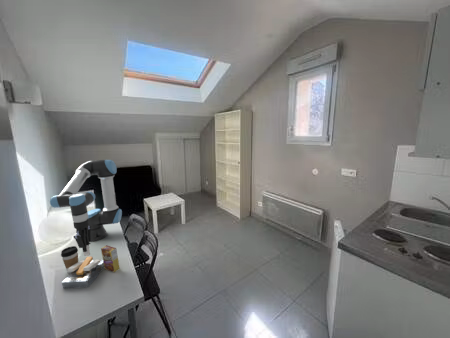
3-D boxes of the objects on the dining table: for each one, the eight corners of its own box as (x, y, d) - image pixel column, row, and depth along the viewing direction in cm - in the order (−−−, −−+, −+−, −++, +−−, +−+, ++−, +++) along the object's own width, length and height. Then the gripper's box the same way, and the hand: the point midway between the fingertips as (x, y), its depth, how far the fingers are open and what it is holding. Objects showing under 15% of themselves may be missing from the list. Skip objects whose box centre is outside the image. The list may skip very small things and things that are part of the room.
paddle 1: (80, 263, 123) (80, 260, 123) (86, 263, 123) (86, 260, 123) (67, 271, 112) (67, 268, 112) (73, 271, 112) (73, 268, 112)
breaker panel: (84, 266, 127) (83, 259, 126) (106, 265, 127) (104, 258, 126) (63, 288, 109) (61, 280, 108) (88, 286, 110) (86, 279, 109)
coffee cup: (72, 275, 119) (67, 254, 116) (61, 273, 120) (56, 252, 117) (84, 266, 127) (80, 245, 124) (74, 264, 128) (69, 244, 125)
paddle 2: (95, 262, 123) (95, 259, 123) (100, 262, 123) (100, 259, 123) (83, 271, 112) (83, 267, 112) (89, 270, 112) (89, 267, 112)
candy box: (104, 269, 123) (100, 248, 120) (110, 265, 127) (106, 244, 124) (114, 273, 120) (110, 251, 117) (119, 268, 124) (116, 247, 121)
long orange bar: (87, 258, 123) (86, 256, 122) (93, 258, 123) (92, 256, 122) (77, 274, 113) (75, 273, 112) (82, 274, 113) (81, 272, 112)
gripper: (81, 215, 121) (87, 249, 126) (66, 225, 109) (73, 262, 113) (94, 215, 122) (99, 248, 126) (79, 224, 109) (86, 261, 113)
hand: (87, 255), depth 120 cm, fingers closed
